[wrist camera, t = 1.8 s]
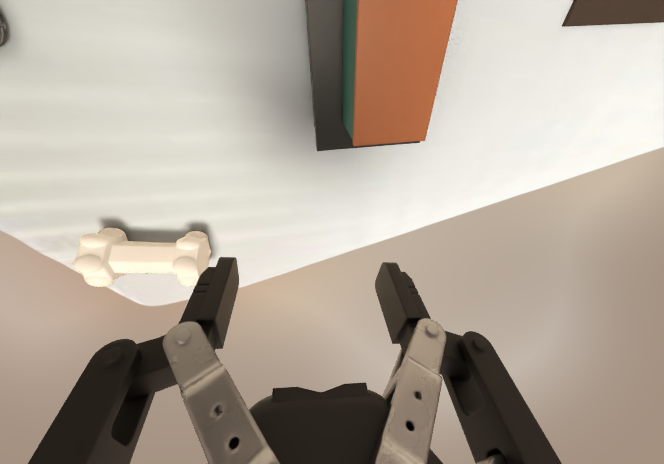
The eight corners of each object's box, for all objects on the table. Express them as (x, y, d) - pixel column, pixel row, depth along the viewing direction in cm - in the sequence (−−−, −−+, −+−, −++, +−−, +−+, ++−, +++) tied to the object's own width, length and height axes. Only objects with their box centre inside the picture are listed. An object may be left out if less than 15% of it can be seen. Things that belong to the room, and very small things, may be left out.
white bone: (207, 221, 38) (191, 258, 32) (214, 257, 44) (202, 295, 38) (95, 215, 35) (55, 256, 29) (119, 256, 40) (89, 297, 34)
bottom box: (299, -40, 21) (302, -59, 16) (423, -42, 22) (464, -61, 17) (312, 129, 31) (317, 151, 26) (398, 122, 32) (419, 142, 27)
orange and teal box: (341, -4, 18) (359, -12, 14) (420, -6, 19) (461, -14, 14) (341, 123, 24) (353, 146, 20) (400, 119, 25) (425, 140, 20)
